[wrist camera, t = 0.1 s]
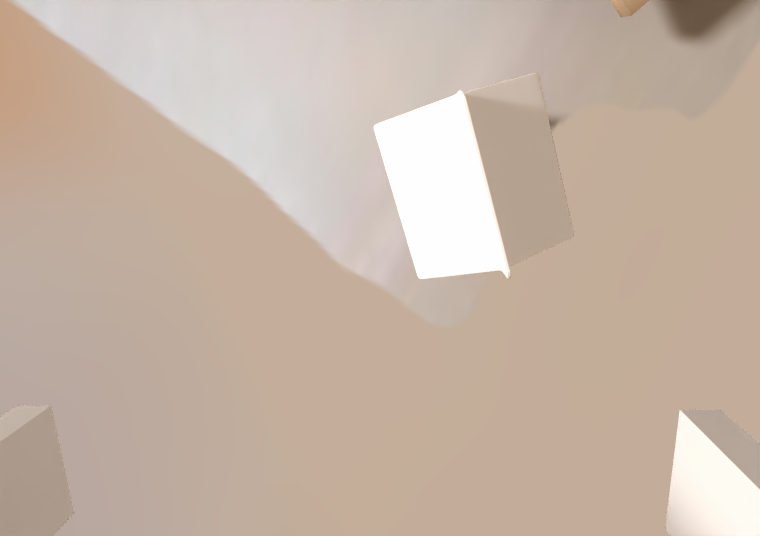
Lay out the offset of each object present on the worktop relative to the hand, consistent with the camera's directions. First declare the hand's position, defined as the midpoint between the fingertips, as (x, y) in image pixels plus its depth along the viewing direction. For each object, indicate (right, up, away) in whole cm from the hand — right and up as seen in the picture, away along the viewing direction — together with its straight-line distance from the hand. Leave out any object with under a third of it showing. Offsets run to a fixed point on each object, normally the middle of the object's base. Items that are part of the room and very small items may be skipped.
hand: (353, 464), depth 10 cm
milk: (+5, +12, +26) cm, 29 cm away
